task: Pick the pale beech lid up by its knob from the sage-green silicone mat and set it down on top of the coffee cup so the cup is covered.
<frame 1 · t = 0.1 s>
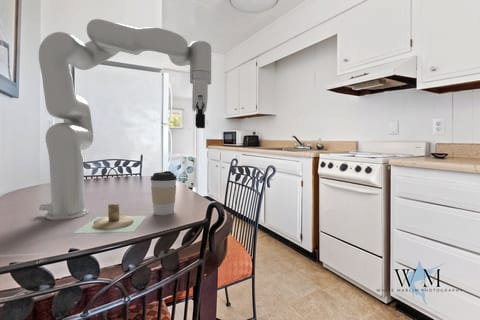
hand: (200, 127, 93), 31 cm above the table, fingers open, 9 cm apart
lid: (114, 223, 80), resting on mat
coffee cup: (163, 214, 93), on the table
mat: (114, 224, 80), on the table
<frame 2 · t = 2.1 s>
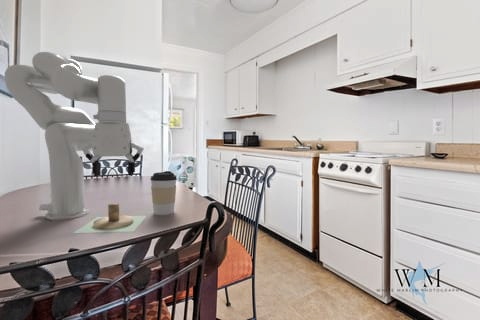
hand: (114, 175, 79), 15 cm above the table, fingers open, 9 cm apart
nothing on the table moved.
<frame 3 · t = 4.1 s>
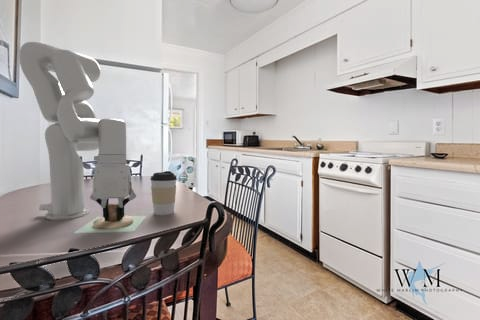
hand: (113, 219, 80), 2 cm above the table, fingers closed on lid, 3 cm apart
lid: (113, 223, 80), resting on mat, touching gripper
everything else where it was.
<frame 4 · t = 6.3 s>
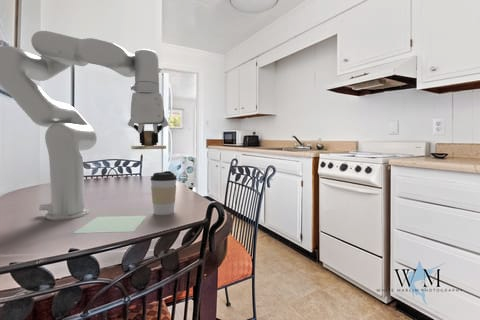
hand: (149, 144, 87), 25 cm above the table, fingers closed on lid, 3 cm apart
lid: (149, 148, 87), point 23 cm above the table, touching gripper
everything else where it was.
when the fingers open (18 cm above the table, at t = 8.5 s): lid drops 1 cm, resting on coffee cup.
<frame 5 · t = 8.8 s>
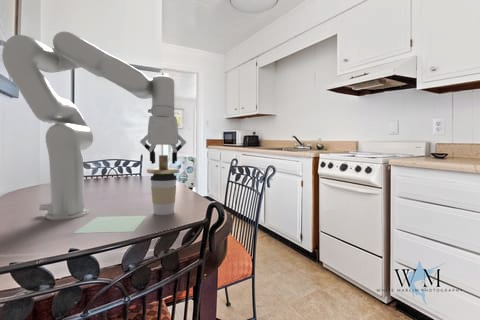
hand: (163, 163, 92), 18 cm above the table, fingers open, 6 cm apart
lid: (163, 172, 92), point 15 cm above the table, touching coffee cup
coffee cup: (163, 214, 93), on the table, touching lid
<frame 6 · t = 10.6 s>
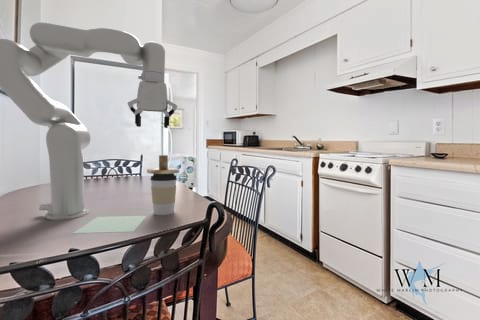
hand: (152, 127, 94), 31 cm above the table, fingers open, 9 cm apart
nothing on the table moved.
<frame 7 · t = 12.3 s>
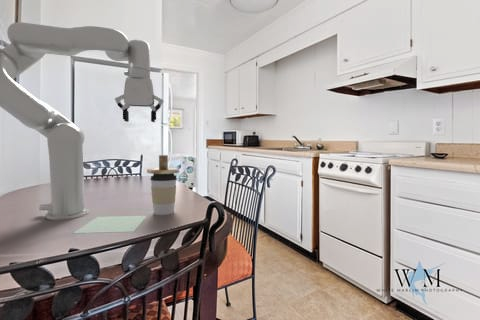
hand: (139, 121, 98), 33 cm above the table, fingers open, 9 cm apart
nothing on the table moved.
at the end: lid 0.1 cm from the coffee cup (horizontally); lid point 15.0 cm above the table; lid tilted 0° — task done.
